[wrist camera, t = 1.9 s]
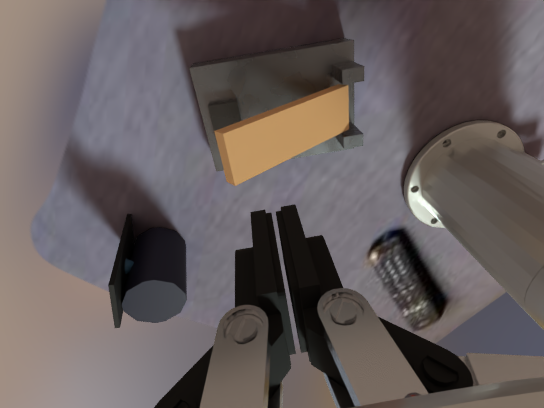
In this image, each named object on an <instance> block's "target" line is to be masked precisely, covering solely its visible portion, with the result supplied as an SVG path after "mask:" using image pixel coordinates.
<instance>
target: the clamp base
mask: <svg viewBox="0 0 544 408" xmlns="http://www.w3.org/2000/svg"><path fill="white" fill-rule="evenodd" d="M189 69H190V73H191V77H192V81H193V85H194V88H195V92H196V96H197V100H198V104H199V107H200V111H201V115H202V119H203V123H204V126H205V130H206V134H207V138H208V141H209V145H210V149H211V153H212V157H213V160H214V164H215V168H216V171H222V170H224V168H223V164H222V160H221V156H220V152H219V148H218V144H217V140H216V136H215V132H214V131H216V130H219V129H221V128H224V127H226V126H229V125H232V124H234V123H237V122H240V121H242V120H245V119H248V118H250V117H253V116H255V115H258V114H261V113H263V112H266V111H269V110H271V109H274V108H277V107H279V106H282V105H285V104H287V103H290V102H292V101H295V100H298V99H300V98H303V97H306V96H308V95H311V94H314V93H316V92H319V91H322V90H324V89H327V88H329V87H332V86H335V85H337V84H342V85H348V91H349V129H348V130H346V131H344V132H342V133H340V134H338V135H336V136H334V137H332V138H330V139H328V140H326V141H324V142H322V143H320V144H318V145H316V146H314V147H312V148H310V149H308V150H306V151H304V152H302V153H300V154H298V155H296V156H294V157H292V158H290V159H293V158H299V157H305V156H311V155H317V154H323V153H329V152H335V151H341V150H346V149H352V148H354V147H358V146H363V133H362V132H361V131H360V130H359V129H358V128H357V127H356V126H355V125H354V82H360V81H364V66H362V65H360V64H357V63H355V62H354V40H350V39H346V38H343V39H337V40H331V41H325V42H319V43H313V44H307V45H301V46H295V47H289V48H284V49H278V50H272V51H266V52H260V53H254V54H248V55H242V56H236V57H230V58H224V59H218V60H213V61H207V62H201V63H195V64H193V65H192V66H191V67H190V68H189Z"/></svg>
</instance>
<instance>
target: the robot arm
mask: <svg viewBox="0 0 544 408" xmlns="http://www.w3.org/2000/svg"><path fill="white" fill-rule="evenodd" d="M404 198H405V201H406V204H407V206H408V208H409V210H410V211H411V212H412V214H413V215H414V216H415V217H416V218H417V219H418V220H420V221H421V222H423V223H424V224H427V225H429V226H433V227H439V228H446V229H447V230H448V231H449V232H450V233H451V234H452V235H453V236H454V237H455V238H456V239H457V240H458V241H459V242H460V243H461V244H462V245H463V247H464V248H465V249H466V250H467V251H468V252H469V253H470V254H471V255H472V256H473V257H474V258H475V259H476V260H477V261H478V262H479V263H480V264H481V265H482V266H483V267H484V269H485V270H486V271H487V272H488V273H489V274H490V275H491V276H492V277H493V278H494V279H495V280H496V281H497V282H498V283H499V284H500V285H501V286H502V287H503V288H504V289H505V291H506V292H507V293H508V294H509V295H510V296H511V297H512V298H513V299H514V300H515V301H516V302H517V303H518V304H519V305H520V306H521V307H522V308H523V309H524V310H525V311H526V312H527V314H528V315H529V316H531V317H532V318H533V319H534V320H535V322H536V323H537V324H538V325H539V326H540V327H542V329H543V330H544V160H542V161H540V160H538V159H536V158H534V157H532V156H530V155H528V154H526V153H524V147H523V144H522V141H521V139H520V138H519V136H518V135H517V134H516V133H515V132H514V131H513V130H511V129H510V128H509V127H506V126H504V125H502V124H500V123H497V122H493V121H489V120H476V121H470V122H465V123H462V124H459V125H456V126H453V127H451V128H450V129H448V130H446V131H444V132H442V133H441V134H439V135H438V136H436V137H435V138H434V139H432V140H431V141H430V142H429V143H428V144H427V145H426V146H425V147H424V148H423V149H422V150H421V151H420V152H419V154H418V155H417V156H416V157H415V159H414V160H413V162H412V164H411V166H410V168H409V170H408V172H407V175H406V178H405V183H404ZM276 216H277V222H278V228H279V234H280V240H281V246H282V253H283V259H284V265H285V270H286V276H287V281H288V286H289V292H290V297H291V302H292V307H293V313H294V318H295V323H296V328H297V333H298V339H299V344H300V349H301V352H308V356H309V361H310V362H311V364H312V365H313V366H314V367H316V368H317V369H319V370H321V371H322V372H323V373H324V377H325V380H326V383H327V385H328V387H329V390H330V393H331V395H332V398H333V400H334V402H335V405H336V407H337V408H544V357H541V356H540V357H539V356H521V355H520V356H519V355H499V354H478V353H467V354H466V357H462V356H456V355H455V354H453V353H451V352H450V351H448V350H446V349H444V348H442V347H440V346H438V345H436V344H434V343H432V342H430V341H428V340H426V339H424V338H421V337H419V336H417V335H415V334H413V333H411V332H409V331H407V330H405V329H403V328H401V327H398V326H396V325H394V324H392V323H390V322H388V321H386V320H384V319H382V318H380V317H378V316H377V315H376V313H375V312H374V310H373V309H372V307H371V306H370V304H369V303H368V301H367V300H366V299H365V298H364V297H363V296H362V295H361V294H360V293H358V292H356V291H354V290H351V289H346V288H343V286H342V284H341V281H340V278H339V276H338V273H337V271H336V268H335V266H334V263H333V260H332V258H331V255H330V253H329V250H328V247H327V245H326V242H325V240H324V237H323V236H322V235H320V236H314V237H309V238H305V235H304V231H303V228H302V225H301V222H300V218H299V215H298V212H297V208H296V205H289V206H284V207H281V211H277V212H276ZM251 225H252V239H253V247H251V248H246V249H240V250H236V251H235V308H233V309H231V310H230V311H228V312H227V313H226V314H225V315H224V316H223V317H222V319H221V320H220V323H219V325H218V328H217V333H216V337H215V342H214V345H213V346H212V347H211V348H210V349H209V350H208V351H207V352H206V353H205V355H204V356H203V357H202V358H201V359H200V360H199V361H198V362H197V363H196V364H195V365H194V366H193V367H192V368H191V369H190V370H189V371H188V372H187V373H186V374H185V375H184V376H183V378H181V379H180V380H179V381H178V382H177V383H176V384H175V386H174V387H172V389H171V390H170V391H169V392H168V393H167V394H166V395H165V396H164V397H163V398H162V399H161V400H160V401H159V402H158V403H157V405H156V406H155V407H154V408H282V404H283V384H282V380H283V378H284V377H285V376H286V374H287V373H288V371H289V370H290V369H291V366H290V365H291V362H290V356H289V355H291V354H296V352H295V346H294V340H293V334H292V329H291V323H290V317H289V311H288V306H287V300H286V294H285V288H284V283H283V277H282V271H281V265H280V260H279V254H278V248H277V243H276V237H275V231H274V226H273V220H272V214H271V213H266V212H265V210H261V211H255V212H251Z"/></svg>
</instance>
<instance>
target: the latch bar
mask: <svg viewBox="0 0 544 408" xmlns="http://www.w3.org/2000/svg"><path fill="white" fill-rule="evenodd" d="M348 129H349V91H348V85H342V84H337V85H335V86H332V87H329V88H327V89H324V90H322V91H319V92H316V93H314V94H311V95H308V96H306V97H303V98H300V99H298V100H295V101H292V102H290V103H287V104H285V105H282V106H279V107H277V108H274V109H271V110H269V111H266V112H263V113H261V114H258V115H255V116H253V117H250V118H248V119H245V120H242V121H240V122H237V123H234V124H232V125H229V126H226V127H224V128H221V129H219V130H216V131H214V132H215V136H216V140H217V144H218V148H219V152H220V156H221V160H222V164H223V168H224V172H225V176H226V180H227V182H229V183H231V184H233V185H234V186H236V185H238V184H240V183H242V182H244V181H246V180H248V179H250V178H252V177H254V176H256V175H258V174H260V173H262V172H264V171H266V170H268V169H270V168H272V167H274V166H276V165H278V164H280V163H282V162H284V161H286V160H288V159H290V158H292V157H294V156H296V155H298V154H300V153H302V152H304V151H306V150H308V149H310V148H312V147H314V146H316V145H318V144H320V143H322V142H324V141H326V140H328V139H330V138H332V137H334V136H336V135H338V134H340V133H342V132H344V131H346V130H348Z"/></svg>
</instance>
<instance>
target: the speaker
mask: <svg viewBox="0 0 544 408" xmlns="http://www.w3.org/2000/svg"><path fill="white" fill-rule="evenodd" d="M108 286H109V292H110V299H111V305H112V312H113V319H114V325H115V328H119V327H120V324H121V319H122V314H123V310H124V312H125V313H127V314H128V315H130V316H131V317H133V318H134V319H135V320H137V321H143V322H152V323H158V322H163V321H166V320H168V319H170V318H171V317H173V316H175V315H177V314H179V313H180V312H181V310H182V308H183V306H184V304H185V302H186V300H187V291H186V244H185V241H184V240H183V239H182V238H181V236H180V235H179V234H178V233H177V232H176V231H173V230H169V229H164V228H160V227H159V228H151V229H149V230H148V231H146V232H144V233H142V234H141V235H139V236H137V239H136V242H135V244H134V240H133V228H132V217H131V214H127V217H126V221H125V225H124V228H123V232H122V236H121V240H120V243H119V247H118V251H117V255H116V259H115V262H114V266H113V270H112V274H111V278H110V281H109V285H108Z"/></svg>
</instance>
